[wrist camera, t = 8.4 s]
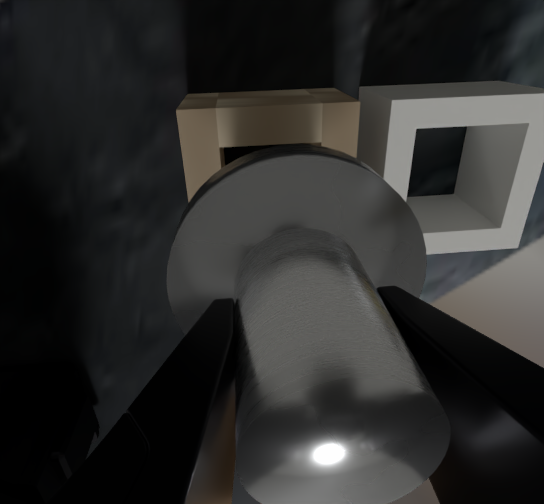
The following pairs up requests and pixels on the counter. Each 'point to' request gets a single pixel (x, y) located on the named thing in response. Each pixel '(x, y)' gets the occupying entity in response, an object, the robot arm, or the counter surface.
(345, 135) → the birch socket block
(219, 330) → the robot arm
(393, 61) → the counter surface
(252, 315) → the grey flanged peg
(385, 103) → the grey block
